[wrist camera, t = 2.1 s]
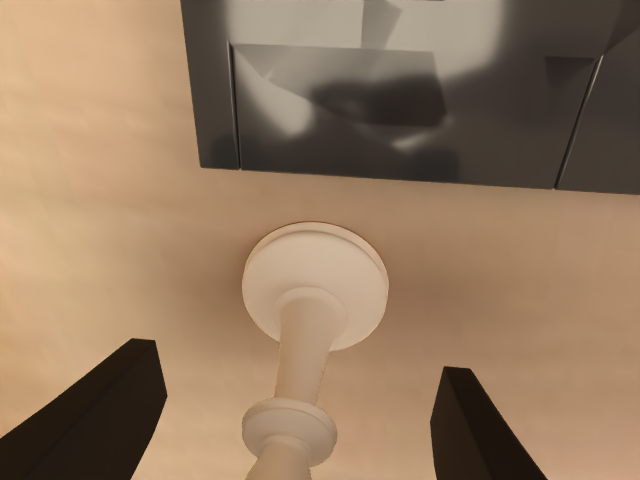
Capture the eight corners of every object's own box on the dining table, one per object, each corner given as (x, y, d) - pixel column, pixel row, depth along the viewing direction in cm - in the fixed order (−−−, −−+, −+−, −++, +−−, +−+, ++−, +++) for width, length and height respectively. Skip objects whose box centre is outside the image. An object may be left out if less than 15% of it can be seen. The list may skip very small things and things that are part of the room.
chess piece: (234, 221, 13) (-33, 647, 4) (391, 221, 12) (454, 709, 4) (254, 338, 15) (109, 765, 7) (386, 342, 15) (417, 811, 6)
